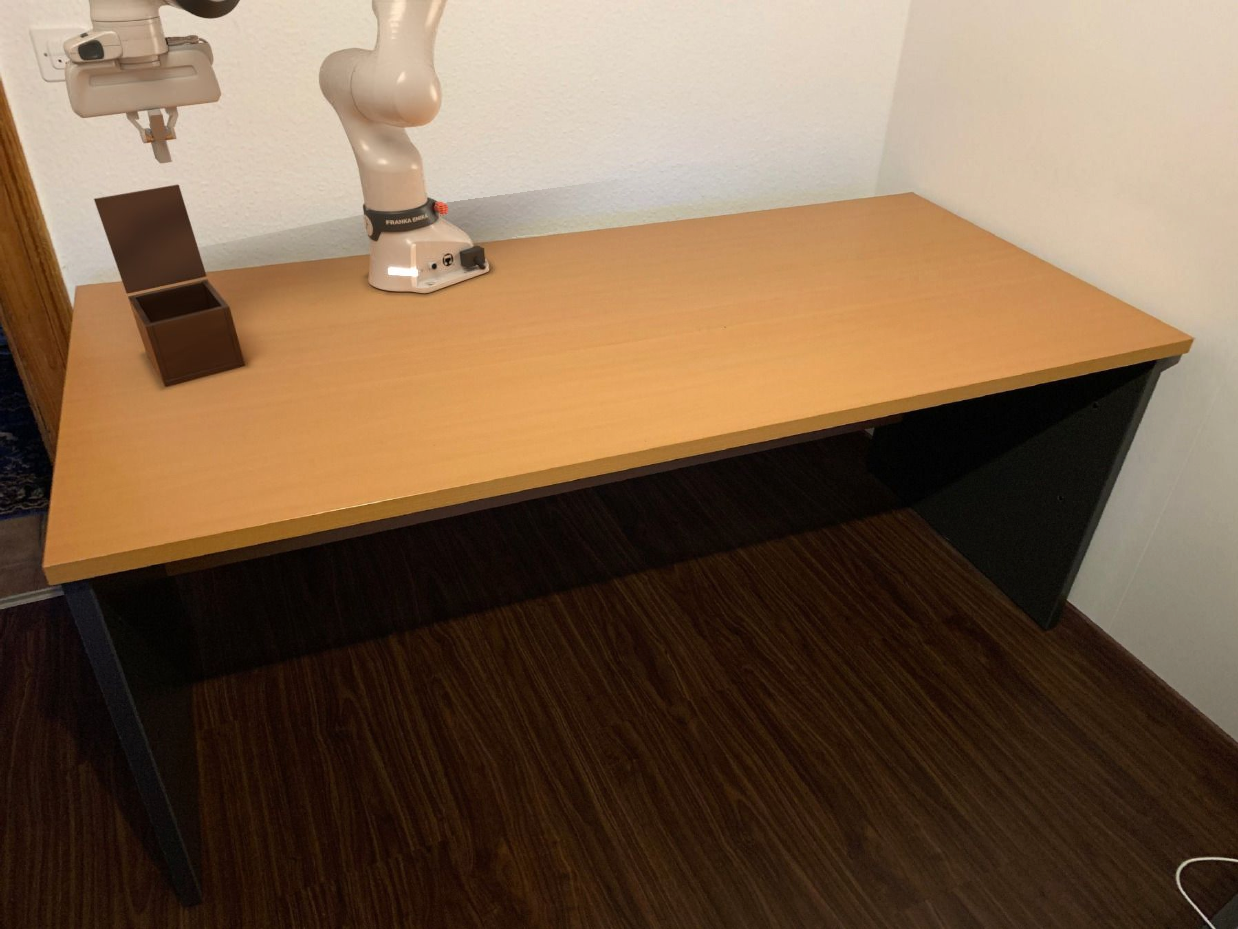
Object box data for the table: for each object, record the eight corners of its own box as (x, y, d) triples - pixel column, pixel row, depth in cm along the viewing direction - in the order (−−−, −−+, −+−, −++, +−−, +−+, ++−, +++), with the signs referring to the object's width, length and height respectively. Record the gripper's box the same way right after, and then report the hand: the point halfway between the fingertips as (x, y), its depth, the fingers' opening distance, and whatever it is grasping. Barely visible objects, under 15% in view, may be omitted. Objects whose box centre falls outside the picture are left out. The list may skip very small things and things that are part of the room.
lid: (178, 184, 139) (173, 182, 143) (94, 198, 134) (90, 196, 138) (206, 276, 145) (200, 272, 149) (126, 293, 140) (122, 288, 144)
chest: (245, 365, 142) (229, 306, 137) (165, 387, 137) (145, 326, 131) (222, 335, 151) (207, 278, 146) (146, 354, 146) (127, 296, 141)
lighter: (154, 157, 142) (139, 103, 137) (166, 156, 142) (152, 101, 138) (164, 167, 137) (148, 111, 132) (176, 165, 137) (161, 109, 133)
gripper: (202, 31, 137) (225, 126, 145) (50, 44, 128) (82, 146, 135) (213, 36, 133) (235, 134, 140) (55, 50, 124) (89, 155, 131)
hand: (159, 140), depth 138 cm, fingers closed on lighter, 2 cm apart
